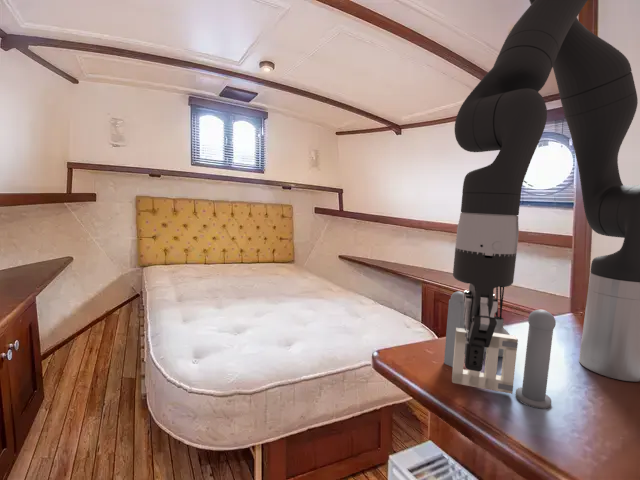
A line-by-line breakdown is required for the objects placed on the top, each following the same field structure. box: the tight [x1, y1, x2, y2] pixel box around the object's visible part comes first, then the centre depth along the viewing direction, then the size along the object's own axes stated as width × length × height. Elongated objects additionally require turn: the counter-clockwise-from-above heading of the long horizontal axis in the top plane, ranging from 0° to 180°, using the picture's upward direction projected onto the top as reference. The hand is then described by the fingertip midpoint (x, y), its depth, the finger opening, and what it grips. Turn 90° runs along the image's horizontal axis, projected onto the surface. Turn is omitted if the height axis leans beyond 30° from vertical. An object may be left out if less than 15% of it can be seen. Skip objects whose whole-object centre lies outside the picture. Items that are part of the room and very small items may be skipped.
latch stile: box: [443, 290, 486, 368], centre depth 60 cm, size 4×6×14 cm
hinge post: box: [514, 309, 557, 410], centre depth 50 cm, size 5×5×14 cm
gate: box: [451, 328, 519, 395], centre depth 53 cm, size 8×2×9 cm, turn 72°
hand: (472, 368), depth 48 cm, fingers closed
